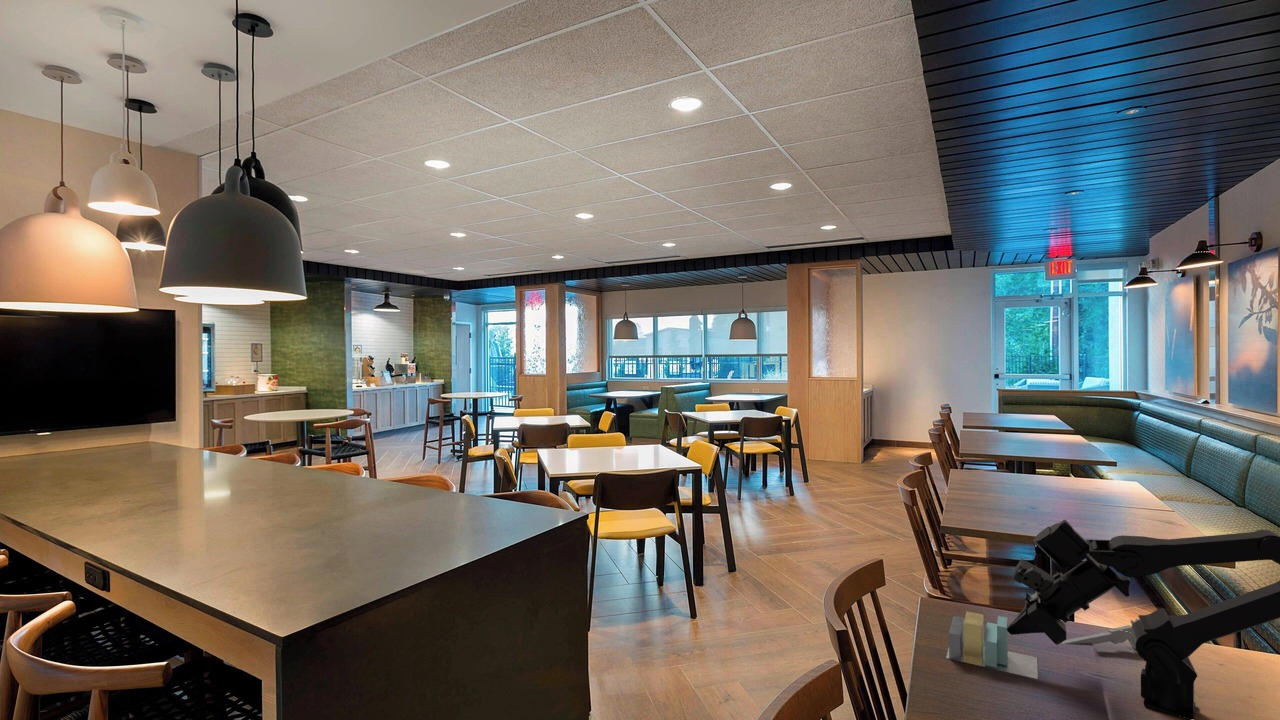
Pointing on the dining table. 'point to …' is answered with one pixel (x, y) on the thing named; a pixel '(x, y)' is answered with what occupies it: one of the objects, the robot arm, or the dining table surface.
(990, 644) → the block
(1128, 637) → the grey long thin bar
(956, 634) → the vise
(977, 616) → the brass block
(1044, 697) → the dining table surface
